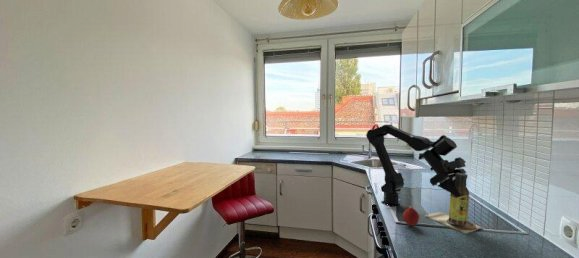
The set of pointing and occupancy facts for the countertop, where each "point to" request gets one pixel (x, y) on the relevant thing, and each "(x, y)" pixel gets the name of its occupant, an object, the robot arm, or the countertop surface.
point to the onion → (410, 216)
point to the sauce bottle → (459, 201)
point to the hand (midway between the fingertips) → (463, 195)
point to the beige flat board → (444, 220)
